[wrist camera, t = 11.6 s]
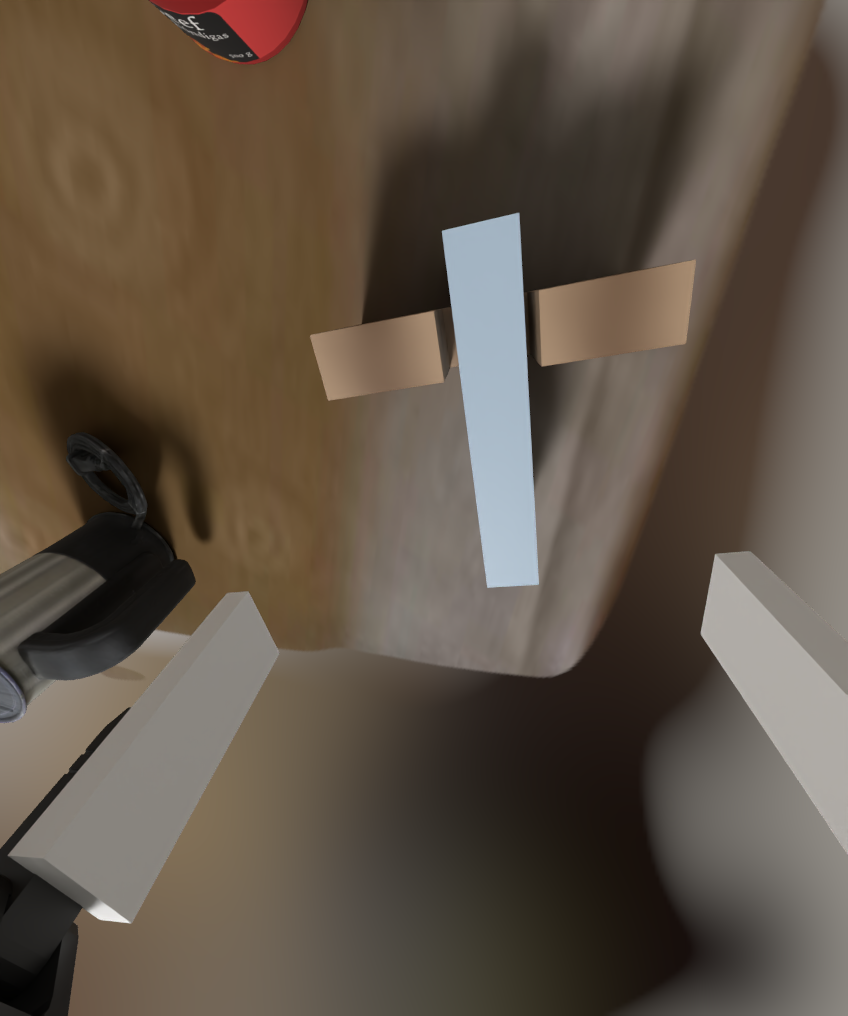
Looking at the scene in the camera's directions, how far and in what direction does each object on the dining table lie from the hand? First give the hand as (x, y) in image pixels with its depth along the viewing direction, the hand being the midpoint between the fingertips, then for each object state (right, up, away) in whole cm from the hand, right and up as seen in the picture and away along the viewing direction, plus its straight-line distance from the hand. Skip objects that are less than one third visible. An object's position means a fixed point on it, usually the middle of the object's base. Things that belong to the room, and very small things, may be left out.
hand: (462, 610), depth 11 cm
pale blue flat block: (+4, +10, +16) cm, 19 cm away
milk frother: (-29, +2, +25) cm, 38 cm away
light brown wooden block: (+3, +15, +14) cm, 20 cm away
